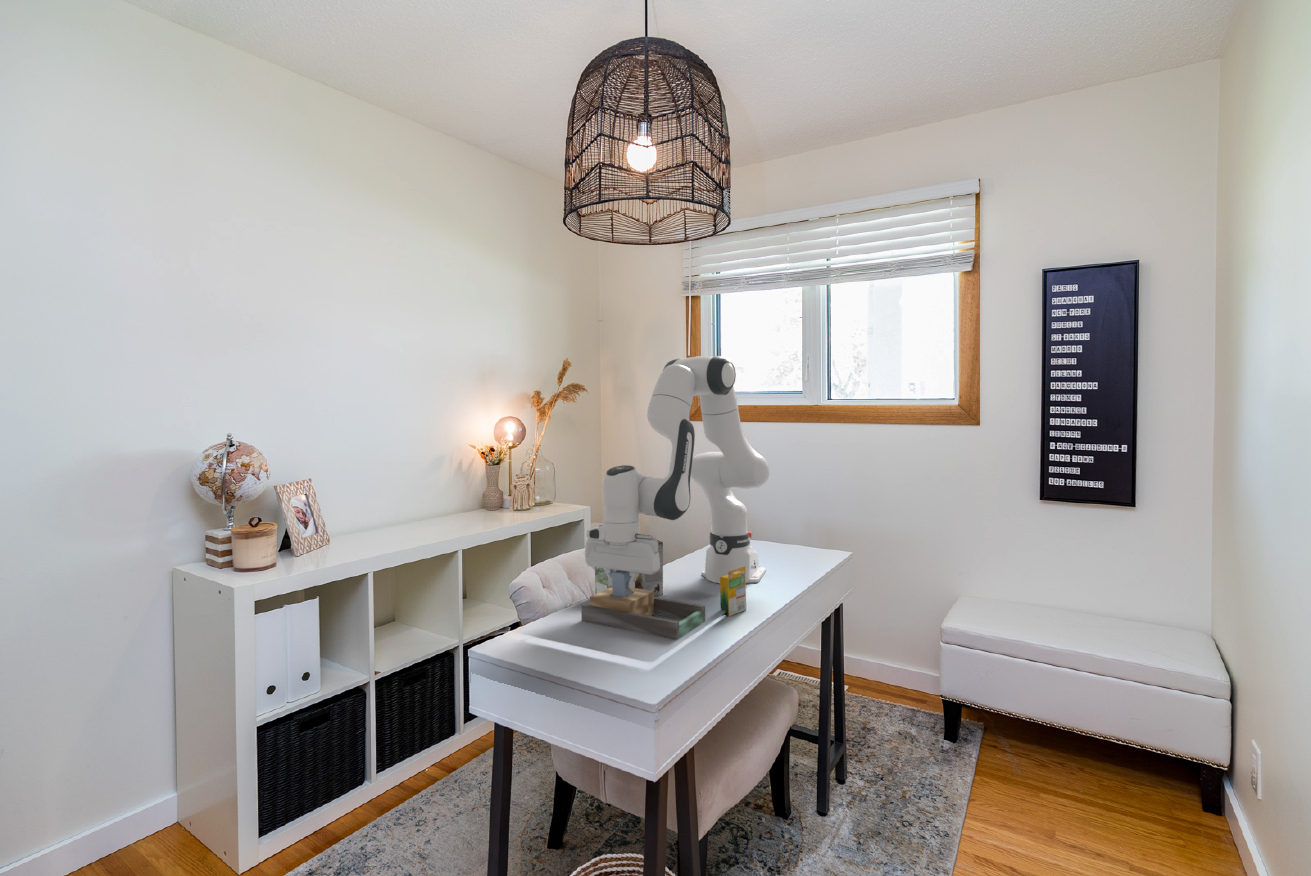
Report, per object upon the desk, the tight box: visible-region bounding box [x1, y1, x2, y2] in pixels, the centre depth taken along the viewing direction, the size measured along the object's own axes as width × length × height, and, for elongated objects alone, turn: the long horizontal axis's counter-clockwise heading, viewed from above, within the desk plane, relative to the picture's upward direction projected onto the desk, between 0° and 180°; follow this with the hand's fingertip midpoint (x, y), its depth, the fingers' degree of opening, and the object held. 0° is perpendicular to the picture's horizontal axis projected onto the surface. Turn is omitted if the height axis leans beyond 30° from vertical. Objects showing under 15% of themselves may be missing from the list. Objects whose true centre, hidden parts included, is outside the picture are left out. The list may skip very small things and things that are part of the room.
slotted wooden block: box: [589, 587, 655, 616], centre depth 159 cm, size 11×11×6 cm
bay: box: [580, 596, 706, 641], centre depth 156 cm, size 14×26×5 cm, turn 59°
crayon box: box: [719, 566, 747, 617], centre depth 165 cm, size 7×3×12 cm, turn 134°
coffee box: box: [635, 539, 664, 597], centre depth 180 cm, size 9×6×16 cm
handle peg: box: [612, 570, 632, 598], centre depth 158 cm, size 4×4×10 cm
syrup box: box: [594, 567, 617, 594], centre depth 176 cm, size 6×6×14 cm
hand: (622, 587), depth 158 cm, fingers closed on handle peg, 3 cm apart
